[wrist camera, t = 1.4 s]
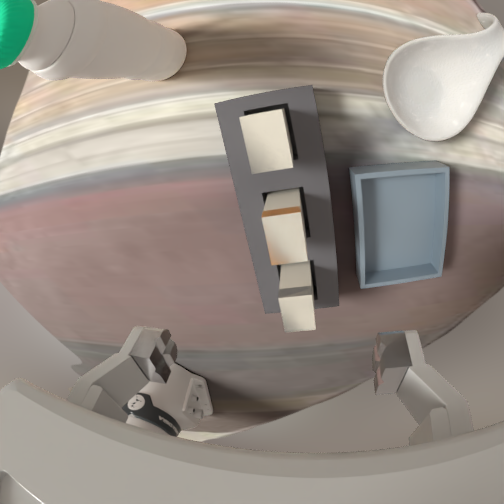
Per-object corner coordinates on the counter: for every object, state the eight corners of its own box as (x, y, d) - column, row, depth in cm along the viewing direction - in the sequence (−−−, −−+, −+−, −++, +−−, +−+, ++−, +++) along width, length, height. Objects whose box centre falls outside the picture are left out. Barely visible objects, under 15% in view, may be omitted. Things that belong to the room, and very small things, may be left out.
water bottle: (186, 23, 25) (29, -46, 4) (191, 74, 29) (18, 57, 7) (134, 39, 26) (-36, 19, 5) (139, 87, 30) (-39, 110, 8)
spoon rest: (419, 155, 30) (445, 169, 24) (354, 83, 27) (370, 78, 21) (509, 59, 19) (540, 59, 13) (457, -8, 17) (483, -21, 10)
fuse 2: (312, 283, 39) (315, 329, 31) (287, 286, 40) (285, 332, 32) (308, 251, 37) (312, 294, 29) (282, 255, 38) (278, 298, 30)
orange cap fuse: (304, 223, 35) (307, 261, 27) (276, 227, 36) (271, 265, 28) (298, 184, 33) (300, 212, 25) (269, 188, 33) (261, 217, 26)
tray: (432, 263, 36) (441, 276, 33) (356, 274, 39) (360, 288, 36) (436, 160, 29) (449, 167, 26) (348, 167, 32) (354, 174, 29)
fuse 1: (292, 150, 31) (293, 167, 23) (262, 155, 32) (252, 174, 24) (284, 108, 29) (281, 109, 21) (253, 113, 29) (239, 117, 22)
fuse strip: (336, 288, 40) (339, 306, 37) (267, 295, 42) (265, 313, 39) (309, 87, 28) (312, 85, 24) (223, 103, 30) (214, 103, 27)
